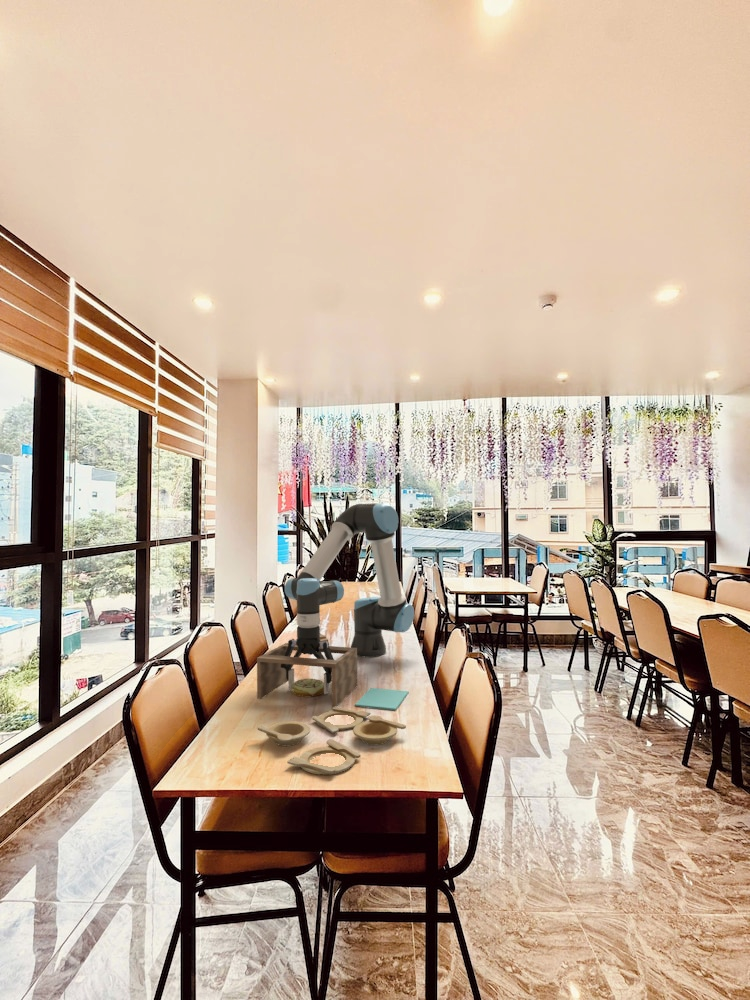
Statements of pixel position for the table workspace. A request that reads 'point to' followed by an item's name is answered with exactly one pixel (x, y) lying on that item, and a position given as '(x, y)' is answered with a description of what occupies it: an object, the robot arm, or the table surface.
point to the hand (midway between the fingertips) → (308, 691)
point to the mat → (382, 698)
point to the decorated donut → (308, 687)
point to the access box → (342, 667)
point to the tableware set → (367, 731)
